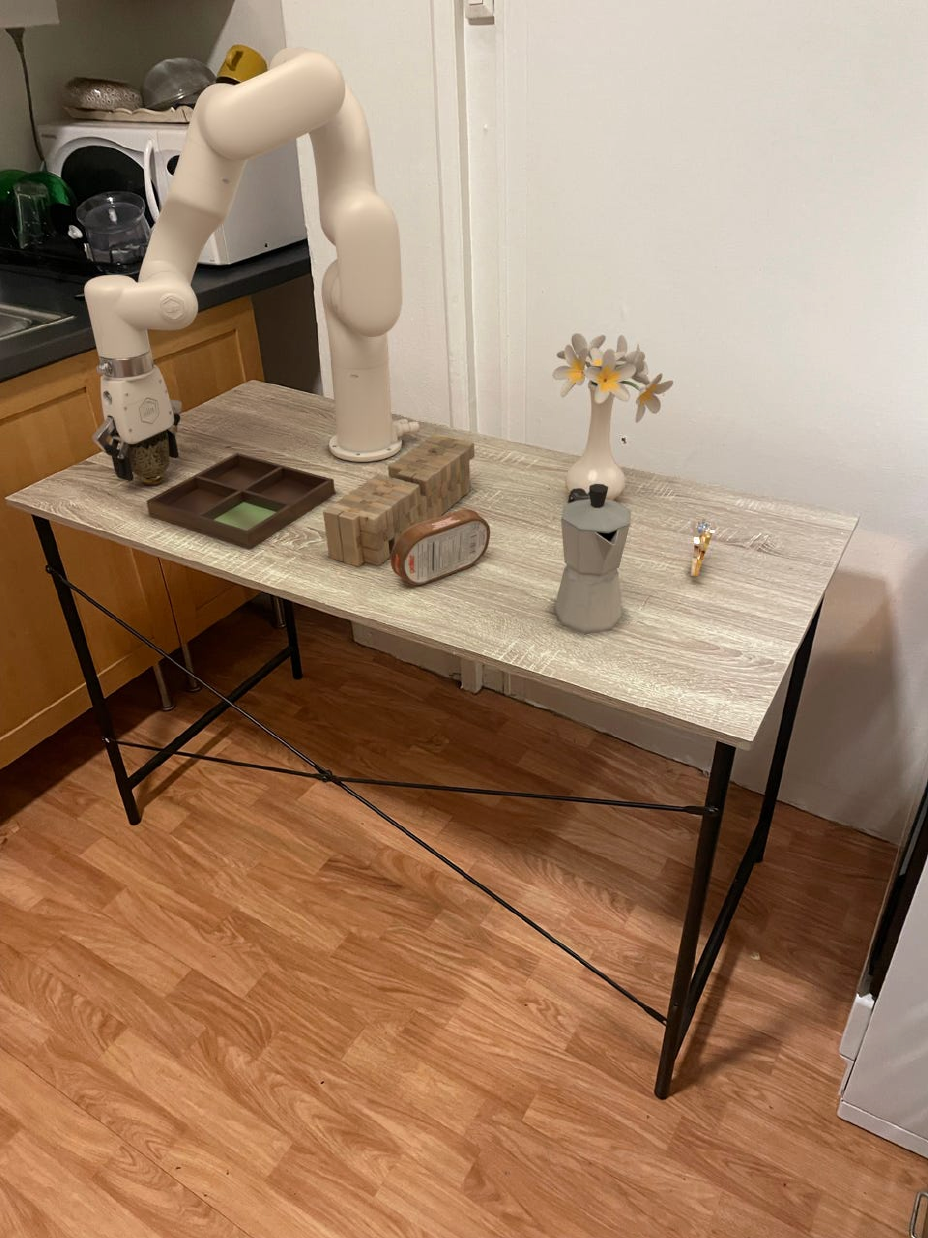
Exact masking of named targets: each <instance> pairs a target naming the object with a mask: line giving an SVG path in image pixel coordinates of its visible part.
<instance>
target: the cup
mask: <svg viewBox="0 0 928 1238" xmlns="http://www.w3.org/2000/svg"><path fill="white" fill-rule="evenodd" d="M120 444H121V442H120V441H119V445H120ZM125 456H127V457H129V459H130V463H131V468H132V472H133V475H134V474H135V475H136V476H138V477H139V478H140V481H141V483H142V484H143V485H144V486H145V485H146V486H157V485H160V484H161V483H163V481H164V479H165V474H164V473H165V472H166V471H167V470H168V468H169V465H170V457H169V443H168V434H167V431H165V432H164V433H163V432H161V433H159V434H157V435H154V436H152V437H150V438H148V439H146V440H143V441H141V442H139V443H136V444H129V447H128V449H127V452H126V455H125Z"/></svg>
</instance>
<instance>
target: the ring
mask: <svg viewBox="0 0 928 1238" xmlns="http://www.w3.org/2000/svg"><path fill="white" fill-rule="evenodd" d="M690 526H691V530H692V533H693V541H694V542H693V544H694V545H693V556H692V563H691V569H690V575H691V577H696V578H697V577H698V576H699V575H700V569H701V565H702V563H703V560H704V557H705V555H706V552H707V549H708V546H709V544H710V541H711V538H712V536H713V534H714V533H715V531H716V526H715V525H713V524H712V521H708V523H706V518H702V521H700V520H698V521H697V522H695V523H691V524H690Z"/></svg>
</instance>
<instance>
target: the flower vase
mask: <svg viewBox="0 0 928 1238" xmlns="http://www.w3.org/2000/svg"><path fill="white" fill-rule="evenodd" d="M570 340H571V344H566V345H565V347H564V349H563V350H559V351H558V352H557V353H556V357H557V358H558V359H561V360H565V362H566V364H567V365H560V366H558V367H556V368H555V369H554V370H553V371H552V374H551V375H552V376H551V377H552V378H553V380H556V381H565V382H564V383H563V384H562V387H561V390H560V398H565V397H567V395H568V394H569V393H570V391H571V390H573V388H574V386H576V385H577V386H582V385H584V383H585V380H586V378H587V379H588V383H587V388H588V390H589V394H590V396H589V397H590V418H589V419H590V420H589V428H588V435H587V441H586V446H585V449H584V450H583V453H582V454H581V456H580V458H578V459H577V460H576V461H575V462H573V464H572V465H570V467H569V468H568V470H567V471H566V474H565V476H564V486H565V488H566V490H567V491H568V492H569V493H570V492H571V491H572V490H573V489H576V488H581V489H583V490H584V491H585V492H586V494H587V495H588V492H589V487H590V485H593V484H604V485H606V486H607V487H608V492H607V496H606V499H607V500H613V501H615V499H617V498H618V497H619V496H620V495H621V494H622V493H623V492H624V491H625V488H626V485H627V484H626V483H627V481H626V477H625V474H624V473H625V472H624V471H623V469H622V468H621V466H620V465H619V464H618V463H617V462H616V460H615V459H614V457H613V454H612V451H611V443H610V442H611V422H612V421H611V419H612V409H613V404H614V401H615V398H616V399H618V400H619V401H622V402H628V401H630V399H631V394H630V391H629V389H628V388H627V386H626V385H628V386H631V387H633V388H635V390H637V391H638V395H637V398H636V400H635V404H636V405H637V409H636V414H635V423H636V424H637V423H639V422H640V421H641V420H642V419H643V417H644V415H645V413H646V408H647V409H648V411H649V412H650V413H651V414H654V415H655V414H656V415H657V414H658V413H659V412H660V411H661V407H662V405H661V403H662V402H661V400H660V399H659V397H658V396H657V395H662V394H664V393H666V392H667V391H668V390H670V389H671V387H672V386H673V385H674V381H673V380H666V381H663V382H661V381H662V379H663V373H658V374H657V375H656V376H655V377H654V378H653V379H652V380H650V379H649V377H648V375H649V367H648V364H647V362H646V361H644V360H645V358H646V355H645V353H644V352H643V351H641V349H640V345H639V343H637V344H636V350H632V351H630V352H629V353H628V342H627V339H626V337H625V335H623V334H620V335H619V336H618V338H617V341H616V342H617V343H616V351H615V350H614V349H612V348H608V349H606V350H605V351H604V352H603V350H601V349H600V348H601V347H602V346H603V344H604V343H605V341H606V340H607V336H606V335H605V334H601V335H598V336H596V337H594V338H593V339H592V340H591V341H590V342H589V344H588V342H587V339H586V338H585V337H584V336H583V335H582V334H581V333H578V332H576V333H573V335H572V336H571V339H570ZM630 379H631V380H633V381H634V382H636V383H638V384H642V385H644V386H642V387H641V386H639V385H638V384H636V383H634V382H632V381H628V380H630Z"/></svg>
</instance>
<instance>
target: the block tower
mask: <svg viewBox="0 0 928 1238" xmlns="http://www.w3.org/2000/svg"><path fill="white" fill-rule="evenodd" d="M474 458H475V442H473V441H469V440H464V439H459V438H454V437H449V436H445V435H442V434H441V435H440V434H435V433H433V434H431V435H430V436H428V437H427V438H425V439H424V441H421V443H419V445H417V446H416V447H415V448H412V449H411V450H409V451H408V452H407V453H406V454H403V455H401V456H400V457H399V458H398V459H397V460H395V461H394V462H391V463H389V465H388V466H387V469H388V475H384V474H380V473H377V474H376V475H374V476H373V477H371V478H369V479H368V480H367V481H366V482H364V483H363V484H362V485H360V486H358V487H356V488H355V489H353V490H351V491H350V492H349V493H348V494H346V495H344V496H343V497H342V498H340V499H338V500H337V502H335V503H333V504H332V505H331V506H328V507H326V508H325V509H323V510H322V516H323V522H324V529H325V536H326V537H325V538H326V544H327V552H328V558H329V559H332V560H336V561H339V562H344V563H345V564H347V565H351V566H355V567H360V566H361V565H362V564H363V563H368V564H372V565H375V566H377V567H378V566H380V567H381V566H382V565H383V564H384V563H385V561H387V560H388V559H389V558H391V552H392V549H393V546H394V544H395V542H396V541H397V539H398V538H399V537H400V536H401V534H402V533H403V532H404V531H406V530H407V529H408V528H410V527H411V526H413V525H416V524H419V523H422V522H425V521H428V520H431V519H434V518H437V517H440V516H443V515H444V513H446V512H447V511H448V510H449V509H451V508H452V507H453V506H454V505H456V504H457V503H458V502H459V501H460V500H461V499H462V498H463V497H464V496H465V495H467V494H469V493H470V492H471V483H470V482H471V478H470V475H471V474H470V473H471V471H470V461H471V460H472V459H474Z"/></svg>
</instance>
